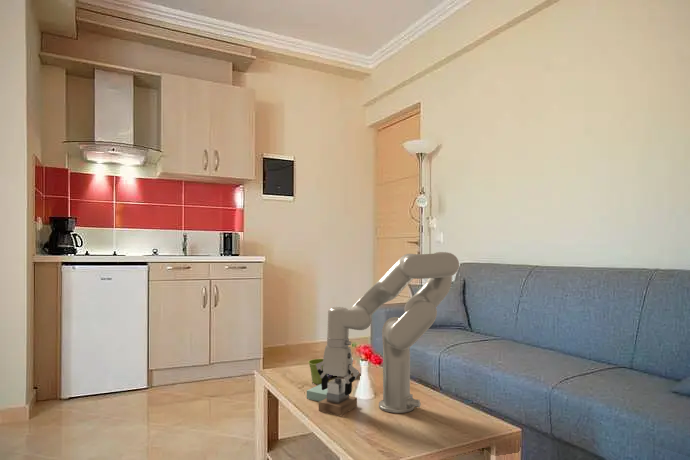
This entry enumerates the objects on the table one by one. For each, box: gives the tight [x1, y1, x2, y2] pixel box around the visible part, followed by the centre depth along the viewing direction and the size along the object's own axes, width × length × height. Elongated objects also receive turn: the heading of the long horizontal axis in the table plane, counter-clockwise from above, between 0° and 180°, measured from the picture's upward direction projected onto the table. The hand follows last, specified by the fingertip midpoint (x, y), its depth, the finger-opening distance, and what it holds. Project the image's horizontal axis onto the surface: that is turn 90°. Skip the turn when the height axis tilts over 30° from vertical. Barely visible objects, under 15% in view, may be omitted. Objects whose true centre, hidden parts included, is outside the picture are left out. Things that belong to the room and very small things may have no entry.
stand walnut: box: [318, 395, 358, 417], centre depth 162 cm, size 9×11×3 cm
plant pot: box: [307, 358, 329, 385], centre depth 193 cm, size 9×9×9 cm
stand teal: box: [306, 384, 328, 402], centre depth 175 cm, size 9×11×3 cm
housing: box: [327, 377, 350, 404], centre depth 163 cm, size 5×7×7 cm
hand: (336, 391), depth 163 cm, fingers open, 9 cm apart
